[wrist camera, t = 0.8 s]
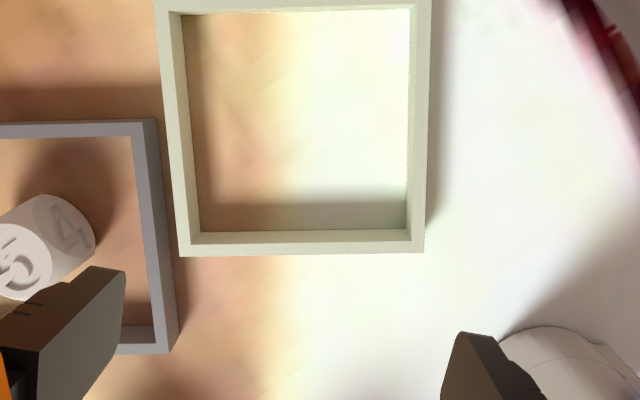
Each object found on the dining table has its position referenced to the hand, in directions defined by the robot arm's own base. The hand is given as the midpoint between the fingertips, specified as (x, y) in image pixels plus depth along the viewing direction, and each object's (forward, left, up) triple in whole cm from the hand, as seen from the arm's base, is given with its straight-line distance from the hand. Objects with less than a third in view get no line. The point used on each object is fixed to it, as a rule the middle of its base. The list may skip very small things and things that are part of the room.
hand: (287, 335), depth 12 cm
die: (+18, +4, -22) cm, 29 cm away
